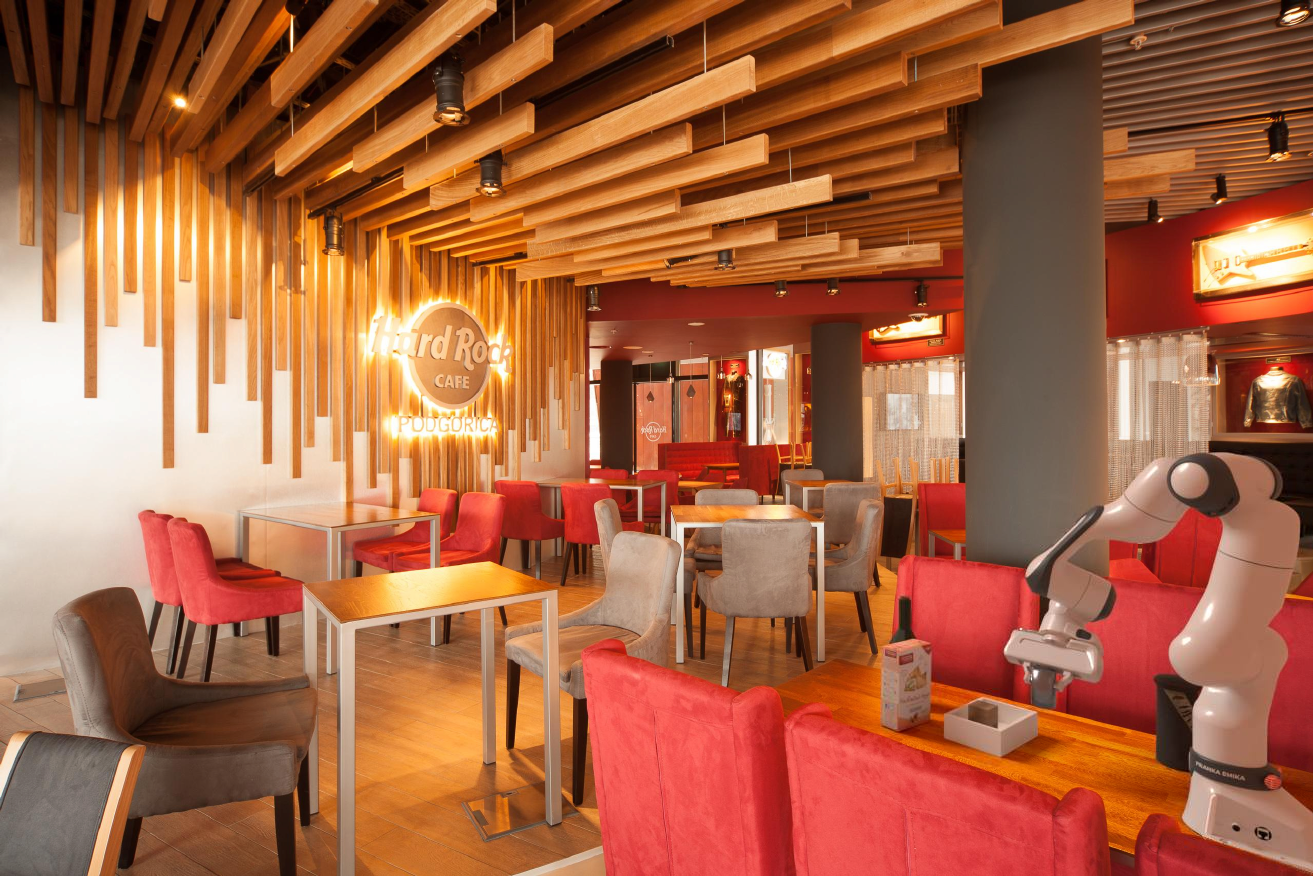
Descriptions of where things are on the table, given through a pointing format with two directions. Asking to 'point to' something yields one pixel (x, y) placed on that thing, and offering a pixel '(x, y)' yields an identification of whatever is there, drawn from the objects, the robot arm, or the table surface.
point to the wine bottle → (904, 622)
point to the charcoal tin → (1043, 687)
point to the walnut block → (983, 713)
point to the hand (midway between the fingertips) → (1042, 686)
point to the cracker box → (905, 684)
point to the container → (1174, 720)
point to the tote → (1010, 734)
